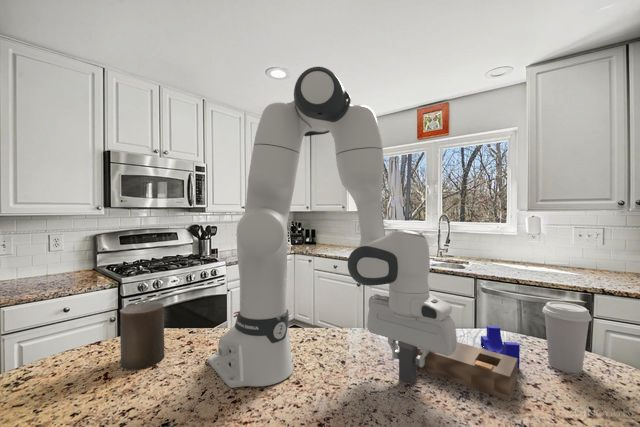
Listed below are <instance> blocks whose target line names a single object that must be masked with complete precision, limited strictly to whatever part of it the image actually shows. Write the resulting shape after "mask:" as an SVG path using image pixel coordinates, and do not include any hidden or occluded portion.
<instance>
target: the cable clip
mask: <svg viewBox="0 0 640 427" xmlns="http://www.w3.org/2000/svg"><path fill="white" fill-rule="evenodd" d="M481 346H484V347H483V348H484V349H485V350H488V351H492V352H496V353H499V354H503V355H507V356H510V357H514V358H518V368H517V370H518V369H520V353H521V352H520V350H521V349H520V347H521V346H520V344H519V343H518V342H517V341H516V342H513V341H503V339H502V333H501V328H500V327H499V325H498V326H496V325H486V335H480V347H481ZM483 348H482V349H483Z"/></svg>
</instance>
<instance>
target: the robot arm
mask: <svg viewBox="0 0 640 427" xmlns="http://www.w3.org/2000/svg"><path fill="white" fill-rule="evenodd" d="M351 100H352V99H351V95H350V94H349V92H348V91H347V89H345V87H344V85H343V84H342V82H341V81H340V79H339V77H337V75H336V74H335V73H334V72H333V71H332V70H331V69H329V68H326V67H323V66H312V67H309V68H307V69H306V70H304V71H303V72H302V73H301V74H300V75H299V77H298V78H297V79H296V82H295V85H294V88H293V100H292V101H291V102H288V103H285V102H273V103H270V104H268V105H267V106H266V107H265V108H264V109H263V111H262V114H261V117H260V119H259V122H258V124H257V125H258V126H257V129H256V132H255V136H254V141H253V147H252V152H251V159H250V165H249V171H248V172H249V173H248V175H247V176H248V177H247V188H246V200H245V201H246V202H245V210H244V215H243V216H242V217H241V218H240V220H239V221H238V223H237V226H236V249H237V251H236V253H237V264H238V265H237V266H238V267H237V268H238V275H239V276H238V277H239V310H238V311H236V312H233V315H234V314H235V315H234V316H233V318H236V319H235V323H234V325H233V327H232V328H230V329H229V330H228V331H226V332H225V333H224V334H223V335H222V336H220V338H219V340H218V346H217V347H218V348H217V349H218V350H217V351H216V352H214V353H213V354H211V355H210V356H209V357H208V358H207V359H208V360H207V361H208V364H209V365H210V367H211V368H212V369H213V370H214V371H215V373H217V375H218V376H219V377H220V379H221V380H223V382H224V383H225V385H227V386H228V388H232V389H233V388H241V387H266V386H271V385H275V384H279V383H281V382H282V381H284V380H286V379H287V378H289V377H290V376H291V375H292V373H293V371H294V363H293V359H294V353H293V352H292V349H291V337H290V329H289V320H290V314H289V310H288V308H287V307H288V306H287V305H288V304H287V302H288V301H287V300H288V286H287V282H288V280H287V278H288V275H287V274H288V238H289V237H288V224H289V223H288V222H289V216H290V211H291V206H292V201H293V195H294V191H295V186H296V185H295V184H296V180H297V173H298V165H299V161H300V155H301V150H302V148H301V147H302V143H303V138H304V137H310V136H320V135H321V136H322V135H326V134H329V133H330V134H331V136H332V138H333V141H334V149H335V161H336V167H337V171H338V175H339V178H340V182H341V184H342V186H343V187H344V188H345V190H346V191H347V192H348V193H349V195H350V196H351V197H352V200H353V202H354V203H355V207H356V209H357V210H356V211H357V217H358V224H359V233H360V242H359V245H358V246H356V247H355V249H353V251H352V252H351V253H350V254H349V256H348V259H347V270H348V273H349V274H350V277H351V278H352V279H353V280H354V281H355V282H356V283H358V284H359V285H362V286H369V287H370V286H380V285H381V286H382V285H388V296H387V295H380V294H378V293H376V294H375V293H374V294H373V295H370V297H369V298H368V314H367V321H366V329H367V331H369V333H371V334H373V335H377V336H380V337H384V338H387V343H388V345H389V347H390V349H391V358H394V359H397V360H399V346H398V343H397V342H398V341H401V342H404V343H407V344H411V345H413V346H416V347H419V348H420V352H421V353H423V354H422V355H421V356H419V355H418V356H417V357H416V358H415V361H416V363H415V365H416V366H419V367H423V366H424V364H425V357H426V356H427V354H428V353H429V351H432V352H436V353H439V354H442V355H445V356H450V355H451V354H452V353H453V352H454V351H455V350H456V347H457V342H458V341H457V331H456V330H457V328H456V323H455V321H454V319H453V318H452V316H451V314H452V311H453V309H452V308H453V307H452V305H451V304H450V303H449V302H448V301H445V300H443V299H441V298H439V297H437V296H435V295H433V294H431V293H430V286H429V280H428V279H429V278H428V277H429V275H430V269H431V268H430V267H431V266H430V265H431V264H430V263H431V260H430V248H429V242H428V239H427V238H426V237H425V235H423V234H422V233H419V232H417V231H414V230H410V229H402V228H396V229H393V230H392V231H391V232H389V233H388V234H386V233H385V225H384V217H383V209H382V190H383V181H384V169H385V168H384V167H385V166H384V162H385V161H384V148H383V142H382V136H381V130H380V127H379V123H378V120H377V116H376V113H375V112H374V110H373V109H371V108H370V107H369V106H367V105H364V104H363V105H361V104H353V105H352V104H351Z"/></svg>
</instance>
